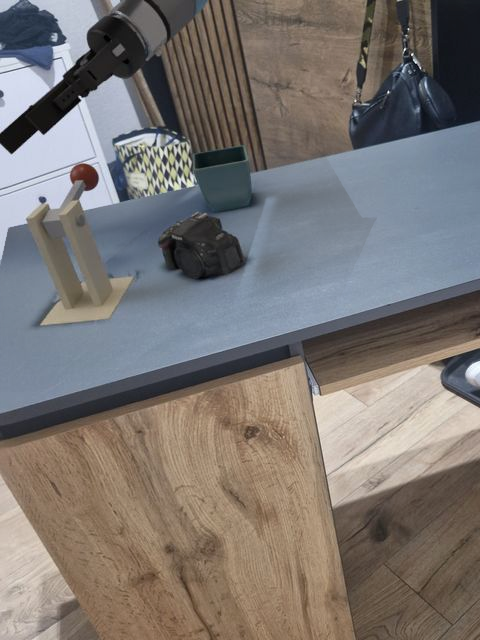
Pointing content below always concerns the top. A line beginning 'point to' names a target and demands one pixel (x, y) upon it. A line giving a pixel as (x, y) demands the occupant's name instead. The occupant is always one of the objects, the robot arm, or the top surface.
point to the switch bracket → (75, 297)
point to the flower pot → (224, 177)
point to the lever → (71, 197)
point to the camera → (200, 247)
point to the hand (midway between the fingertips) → (18, 136)
